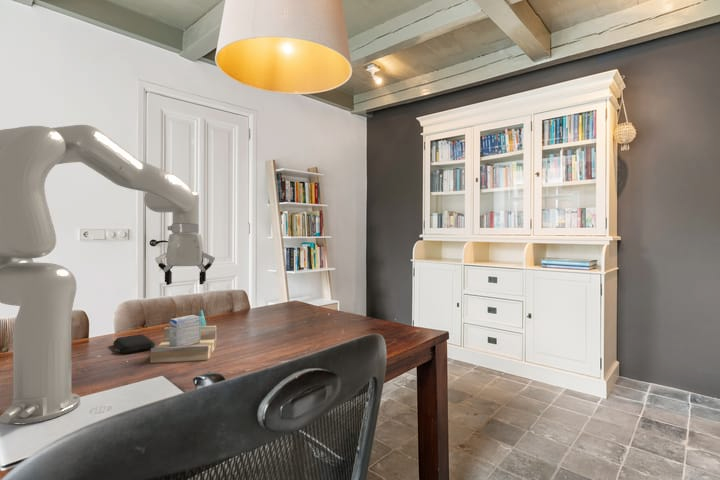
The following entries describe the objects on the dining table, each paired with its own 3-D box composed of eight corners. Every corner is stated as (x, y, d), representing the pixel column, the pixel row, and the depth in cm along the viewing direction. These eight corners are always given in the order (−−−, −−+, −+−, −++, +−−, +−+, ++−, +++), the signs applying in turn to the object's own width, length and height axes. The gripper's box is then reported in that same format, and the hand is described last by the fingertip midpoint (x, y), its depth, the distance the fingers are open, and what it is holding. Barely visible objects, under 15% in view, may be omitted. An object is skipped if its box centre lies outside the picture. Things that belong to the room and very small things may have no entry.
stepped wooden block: (207, 359, 113) (208, 336, 113) (150, 362, 110) (150, 339, 110) (216, 346, 127) (216, 325, 127) (165, 348, 124) (165, 327, 124)
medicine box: (192, 340, 123) (192, 314, 122) (200, 343, 120) (200, 316, 120) (169, 346, 116) (169, 318, 116) (176, 349, 114) (176, 320, 113)
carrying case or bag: (108, 346, 126) (118, 357, 116) (108, 337, 126) (118, 347, 116) (144, 340, 134) (156, 350, 123) (144, 332, 134) (156, 341, 123)
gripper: (151, 229, 113) (151, 286, 113) (212, 230, 116) (212, 285, 116) (159, 229, 120) (159, 283, 120) (216, 230, 123) (216, 282, 124)
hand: (185, 284), depth 118 cm, fingers open, 9 cm apart
